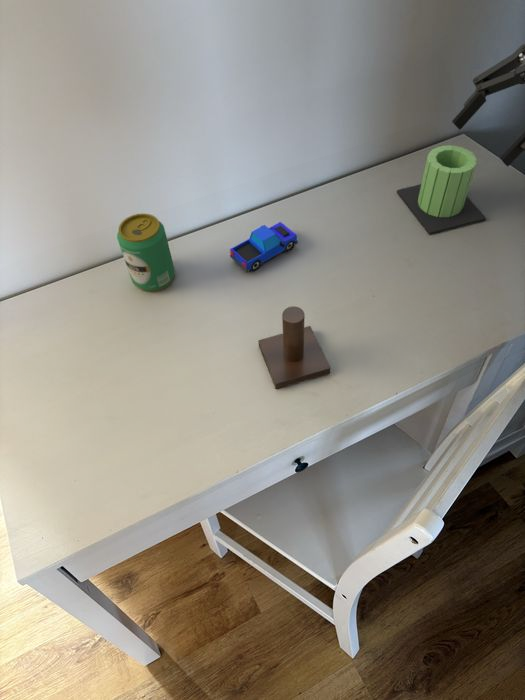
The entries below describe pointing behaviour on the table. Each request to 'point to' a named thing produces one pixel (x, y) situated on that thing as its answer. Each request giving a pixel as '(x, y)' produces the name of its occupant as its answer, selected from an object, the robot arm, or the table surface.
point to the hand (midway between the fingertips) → (478, 143)
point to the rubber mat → (438, 224)
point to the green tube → (446, 180)
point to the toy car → (263, 246)
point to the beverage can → (146, 252)
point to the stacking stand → (293, 352)
